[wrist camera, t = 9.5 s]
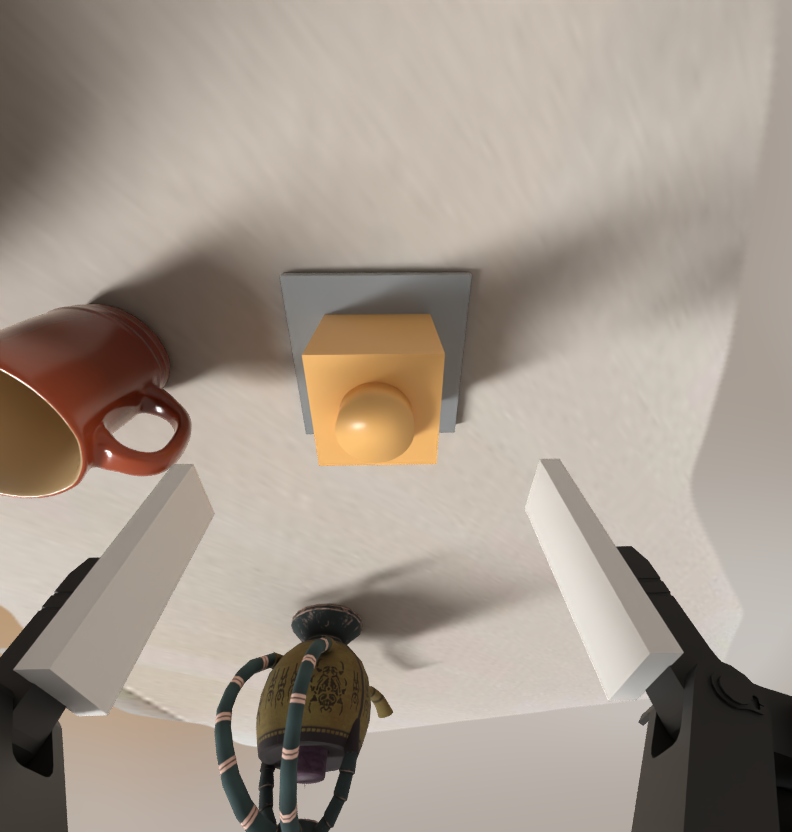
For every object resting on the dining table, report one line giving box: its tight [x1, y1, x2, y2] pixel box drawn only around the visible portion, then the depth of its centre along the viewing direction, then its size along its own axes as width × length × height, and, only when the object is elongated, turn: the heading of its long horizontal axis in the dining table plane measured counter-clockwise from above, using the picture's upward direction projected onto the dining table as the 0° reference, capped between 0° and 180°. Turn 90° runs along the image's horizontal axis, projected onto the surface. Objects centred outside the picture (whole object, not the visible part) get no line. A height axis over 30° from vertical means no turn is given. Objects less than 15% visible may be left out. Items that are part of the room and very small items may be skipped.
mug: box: [0, 304, 191, 498], centre depth 21 cm, size 12×9×10 cm
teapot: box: [215, 604, 393, 832], centre depth 37 cm, size 12×25×23 cm, turn 28°
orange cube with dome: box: [302, 314, 445, 466], centre depth 21 cm, size 7×7×9 cm
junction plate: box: [280, 272, 472, 434], centre depth 23 cm, size 12×12×6 cm
